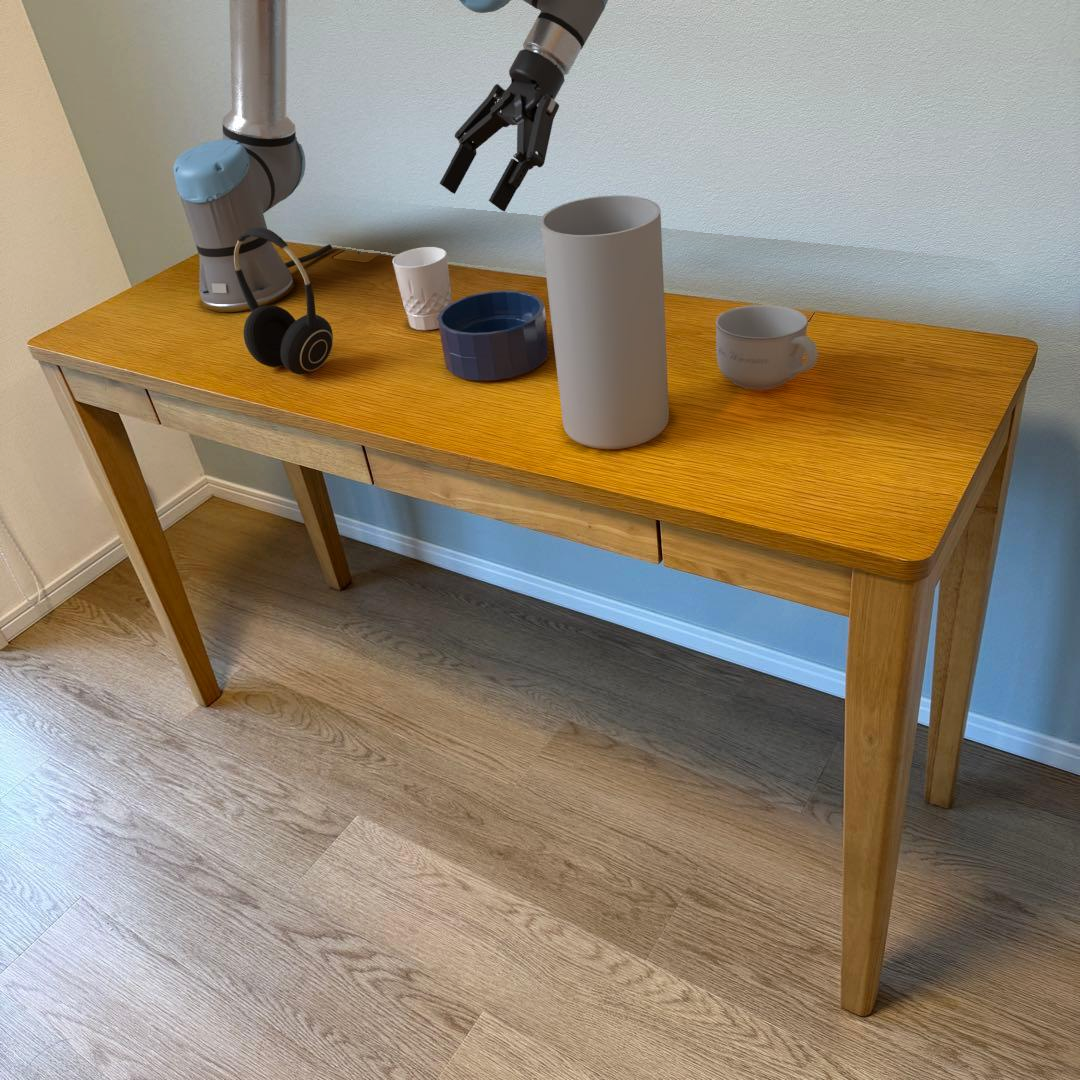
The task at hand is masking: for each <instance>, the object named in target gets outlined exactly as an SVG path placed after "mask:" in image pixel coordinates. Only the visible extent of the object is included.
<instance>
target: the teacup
mask: <svg viewBox="0 0 1080 1080" xmlns="http://www.w3.org/2000/svg"><path fill="white" fill-rule="evenodd" d="M808 319H809V318H808V317H807V315H805V314H804V313H802V312H801V311H799V310H797V309H795V308H793V307H789V306H784V305H776V304H752V305H743V306H738V307H733V308H730V309H728V310H726V311H723V312H722V313H721V314H719V315H717V317H716V319H715V327H716V332H715V333H716V334H715V335H716V338H715V345H716V347H715V348H716V349H715V350H716V351H715V352H716V353H715V354H716V362H717V363H716V364H717V366H718V369H719V371H720V373H721V374H722V375H723V376H724V377H725V378H727V379H728V380H729V381H731V383H733V384H734V385H736V386H737V387H739V388H743V389H747V390H754V391H764V390H765V391H767V390H771V389H772V390H773V389H776V388H779V387H781V386H783V385H784V384H786V383H787V382H788V381H790V380H794V379H797V377H798V375H802V374H804V373H806V372H808V371H810V370H812V369H813V368H814V367H815V366H816V364H817V361H818V359H819V358H818V357H819V352H818V347H817V345H816V343H815V342H814V340H813V339H811V338H810V337H809V336H807V329H808V326H809V320H808ZM804 357H805V358H804ZM804 359H805V361H804ZM803 362H804V363H803Z"/></svg>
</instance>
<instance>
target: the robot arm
mask: <svg viewBox="0 0 1080 1080" xmlns="http://www.w3.org/2000/svg"><path fill="white" fill-rule="evenodd" d="M511 1H512V0H459V2H460V3H461V4H462V5H463V7H465V8H466V9H468V10H470V12H474V13H477V14H478V13H479V14H485V13H492V12H496V11H499V10H500V9H502V8H504V7H505V6H507V5H508V4H509V3H510V2H511ZM522 1H523V2H525V3H526V4H528V5H529V6H531V7H533V8H535V9H537V10H538V11H540V13H539V14H538V16H537V18H536V19H535V21H534V23H533V25H532V27H531V29H530V30H529V32H528V34H527V35H526V38H525V40H524V41H523V43H522V47H523V49H521V50H519V51H518V53H517V55H516V57H515V59H514V60H513V62H512V64H511V66H510V68H509V70H508V75H509V77H510V80H511V83H510V84H509V85H508V87H507V88H506V89H504V88H503V87H502V86H501V85H500V84H499V83H496V84H495V85H493V87H492V88H491V90H490V92H489V94H488V95H487V96H486V98H485V99H484V101H482V102H481V103H480V105H479V106H478V107H477V108H476V109H475V110H474V111H473V113H472V114H471V115H470V116H469V117H468V118H467V119H466V120H465V122H464V123H463V124H462V125H461V126H460V127H459V128H458V129H457V130H456V132H455V133H454V138H455V139H456V140H457V141H458V147H457V148H456V151H455V152H454V155H453V157H452V158H451V160H450V163H449V164H448V167H447V168H446V170H445V172H444V174H443V176H442V178H441V180H440V181H439V185H440V186H443V187H444V188H445V189H446V190H447V191H449V192H450V193H451V194H453V195H455V194H456V193H457V191H458V189H459V187H460V185H461V184H462V182H463V180H464V178H465V177H466V175H467V173H468V170H469V169H470V168H471V165H472V163H473V162H474V160H475V158H476V156H477V149H478V148H480V146H482V145H483V144H484V143H485V142H487V141H488V140H489V139H490V138H492V137H493V136H494V135H495V134H496V133H498V132H499V131H500V130H501V129H503V128H509V126H517V129H516V153H514V154H513V155H512V156H513V158H511V159H510V160H509V163H508V164H507V166H506V167H505V169H504V171H503V173H502V175H501V177H500V179H499V180H498V183H497V184H496V186H495V188H494V189H493V192H492V194H491V195H490V197H489V198H488V202H490V203H491V204H492V205H493V206H494V207H496V208H497V209H498V210H500V211H502V212H506V210H507V208H508V207H509V205H510V203H511V201H512V199H513V197H514V195H515V194H516V192H517V191H518V189H519V188H520V187H521V184H522V183H523V181H524V179H525V177H526V175H527V174H528V172H529V170H532V169H533V168H534V167H538V168H540V169H541V168H542V167H543V166H544V164H545V161H546V158H547V153H548V147H549V142H550V138H551V134H552V129H553V123H554V119H555V117H556V115H557V112H558V111H559V108H560V104H559V103H558V102H557V101H556V98H557V96H558V95H559V92H560V91H561V88H562V87H563V85H564V83H565V81H566V80H565V76H567V75H569V73H570V71H571V69H572V68H573V65H574V64H575V61H576V59H577V58H578V56H579V54H580V52H581V51H582V49H583V48H584V46H585V44H586V42H587V40H588V38H589V37H590V36H591V33H592V32H593V30H594V29H595V26H596V25H597V23H598V21H599V19H600V17H601V16H602V14H603V13H604V11H605V9H606V6H607V4H608V1H609V0H522ZM288 2H289V1H288V0H229V41H230V42H229V43H230V78H231V79H230V83H231V84H230V87H231V110H230V111H229V112H227V113H226V114H225V115H224V116H223V117H222V139H217V140H211V141H206V142H203V143H201V144H200V145H198V146H192V147H191V148H189V149H187V150H185V151H184V152H182V153H181V154H180V155H179V156H178V157H177V158H176V159H175V161H174V164H173V168H172V169H173V170H172V171H173V176H174V179H175V186H176V187H175V188H176V192H177V194H178V196H179V197H180V201H181V203H182V206H183V209H184V212H185V216H186V219H187V222H188V226H189V228H190V231H191V234H192V235H191V236H192V238H193V241H194V243H195V246H196V250H197V253H198V257H199V285H198V287H199V289H198V290H199V297H200V300H201V303H202V306H203V307H204V308H206V310H209V311H212V312H217V313H238V312H244V311H245V312H246V311H251V310H250V308H249V306H248V304H247V301H246V299H245V297H244V294H243V292H242V289H241V287H240V284H239V281H238V278H237V275H236V272H235V270H236V269H235V264H234V251H235V247H236V244H237V242H238V238H239V236H240V235H241V233H243V232H244V231H246V230H248V229H251V228H266V229H268V226H267V222H266V219H265V215H264V214H265V213H266V212H268V211H269V210H271V209H272V208H273V207H275V206H276V205H278V204H279V203H281V202H283V201H284V200H286V199H288V197H290V196H291V195H292V194H293V193H294V192H295V190H296V189H297V188H298V186H299V185H300V184H301V182H302V181H303V178H304V175H305V172H306V155H305V151H304V148H303V145H302V144H301V143H300V142H299V141H298V138H297V135H296V133H297V131H296V129H297V128H296V124H295V123H294V122H293V121H292V120H291V119H290V118H289V116H288V115H287V107H288V105H287V104H288V103H287V98H288V97H287V95H288V93H287V92H288V91H287V90H288V87H287V86H288ZM332 249H333V246H332V244H327V245H325V246H323V247H322V248H320V249H318V250H316V251H314V252H312V253H309V254H306V255H304V256H301V257H297V258H298V260H299V261H300V263H301V264H303V263H307V262H309V261H311V260H315V259H316V258H318V257H321V256H322V255H324V254H326V253H327V252H329V251H331V250H332ZM238 259H239V266H240V269H241V270H242V272H243V275H244V277H245V280H246V282H247V284H248V286H249V288H250V290H251V292H252V294H253V296H254V298H255V300H256V301H257V303H258V305H259V307H262V306H266V305H272V304H273V303H275V302H278V301H280V300H282V299H283V298H285V297H286V296H287V295H289V294H290V293H291V292H292V291H293V289H294V288H295V284H294V280H293V276H292V274H291V272H290V270H289V269H290V268H293V267H295V266H297V265H296V264H295V262H294V261H293V259H292V260H290V261H287V262H284V260H283V259H282V257H281V255H280V253H279V251H277V249H276V247H275V245H274V243H272V242H271V241H268V240H266V239H264V238H259V237H253V236H250V237H247V238H246V239H245V240H244V241H242V243H241V245H240V248H239V254H238Z"/></svg>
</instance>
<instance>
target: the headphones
mask: <svg viewBox="0 0 1080 1080" xmlns="http://www.w3.org/2000/svg"><path fill="white" fill-rule="evenodd" d="M250 236H253V237H259V238H264V239H266V240H268V241H271V243H272V244H273V245H276V246H277V247H279V248H280V249H281V250H284V252H286V254H287V255H288V256H289V257H290V259H292V260H293V261H294V262H295V264H296V265H295V266H296V267H297V268H298V270H299V272H300V274H301V276H302V278H303V281H304V284H303V285H304V291H305V297H306V314H305V315H303V316H301V317H299V318H297V319H295V318H294V316H293V315H292V314H291V313H290V312H289V311H287V310H286V309H284V308H283V307H280V306H278V305H275V304H268V305H265V306H262V307H259V305H258V303H257V301H256V300H255V298H254V296H253V294H252V292H251V290H250V288H249V286H248V284H247V282H246V280H245V277H244V275H243V272H242V270H241V269H240V266H239V259H238V254H239V248H240V245H241V243H242V241H244V240H245V239H246V238H247V237H250ZM298 258H299V257H297V256H296V254H295V253H294V252H293V251H292V249H291V248H290V247H289V245H288V243H286V241H285V240H284V239H283V238H282V237H280V236H279V235H278V234H277V233H275V232H274V231H273V230H271V229H268V228H267V229H266V228H251V229H248V230H246V231H244V232H243V233H241V235H240V236H239V238H238V242H237V244H236V247H235V251H234V264H235V269H236V270H235V272H236V275H237V278H238V281H239V284H240V287H241V289H242V292H243V294H244V297H245V299H246V301H247V304H248V306H249V308H250V310H249V311H250V313H249V315H248V316H247V317H246V319H245V322H244V326H243V340H244V344H245V346H246V349H247V351H248V352H249V354H250V356H251V357H252V358H253V359H254V360H256V361H257V362H258V363H259V364H260V365H263V366H265V367H270V368H280V367H285V369H287V370H288V371H289V372H291V373H292V374H296V375H300V376H302V375H303V376H304V375H307V374H310V373H313V372H314V371H316V370H318V369H320V367H322V366H323V365H324V364H325V363H326V362H327V360H328V359H329V357H330V355H331V353H332V350H333V344H334V334H333V329H332V325H331V324H330V323H329V322H328V320H327V319H325V318H324V317H323V316H321V315H318V314H317V313H316V312H317V311H316V303H315V296H314V291H313V287H312V282H311V281H310V279H309V276H308V274H307V271H306V269H305V267H304V266H303V263H300V261H299V260H298Z"/></svg>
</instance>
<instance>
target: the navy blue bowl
mask: <svg viewBox="0 0 1080 1080" xmlns="http://www.w3.org/2000/svg"><path fill="white" fill-rule="evenodd" d="M437 321H438V326H439V328H438V331H439V336H440V343H441V347H442V353H443V358H444V364H445V367H446V370H447V371H449V372H450V374H452V375H453V376H456V377H459V378H462V379H464V380H471V381H479V382H480V381H481V382H482V381H498V380H503V379H511V378H514V377H517V376H521V375H523V374H527V373H529V372H531V371H533V370H534V369H536V368H538V367H540V366H541V365H542V364H543V363H544V362H545V361H546V360H547V359H548V357H549V353H550V342H549V334H548V326H547V325H548V323H547V315H546V307H545V304H544V302H543V300H542V298H540V297H538V296H537V295H535V294H533V293H529V292H527V291H526V292H525V291H520V290H507V289H506V290H492V291H490V290H489V291H485V292H479V293H478V292H477V293H475V294H471V295H468V296H465V297H461V298H459V299H456V300H455V301H453V302H451V304H449V305H448V306H446V307H445V308H444V309H443V310H441V311H440V313H439V315H438V317H437Z"/></svg>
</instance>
